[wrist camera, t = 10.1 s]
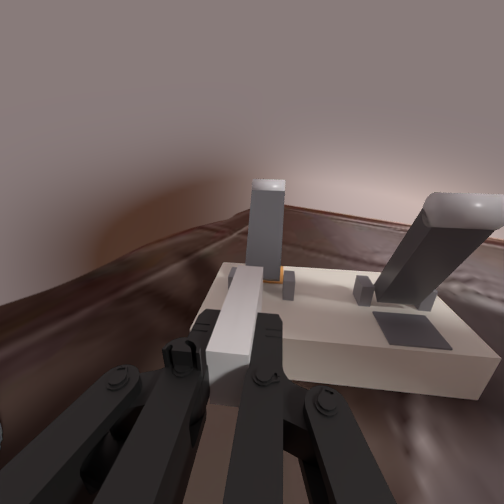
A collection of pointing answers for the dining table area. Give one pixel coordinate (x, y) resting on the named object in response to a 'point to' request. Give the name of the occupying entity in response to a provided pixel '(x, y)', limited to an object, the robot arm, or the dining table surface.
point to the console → (367, 334)
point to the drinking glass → (0, 434)
